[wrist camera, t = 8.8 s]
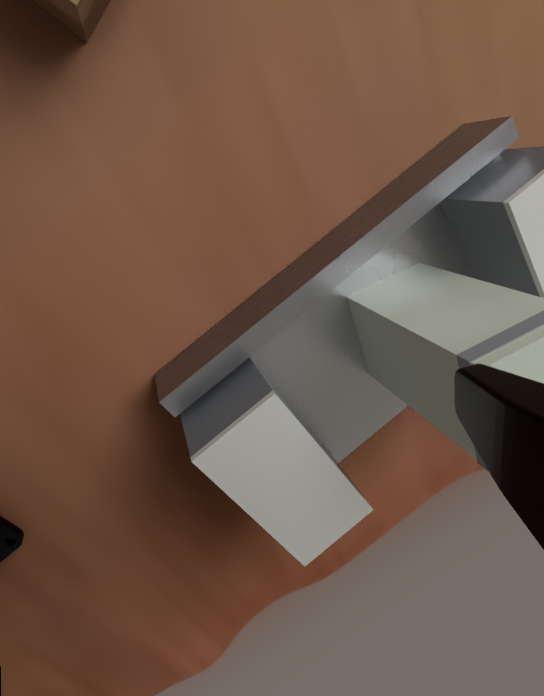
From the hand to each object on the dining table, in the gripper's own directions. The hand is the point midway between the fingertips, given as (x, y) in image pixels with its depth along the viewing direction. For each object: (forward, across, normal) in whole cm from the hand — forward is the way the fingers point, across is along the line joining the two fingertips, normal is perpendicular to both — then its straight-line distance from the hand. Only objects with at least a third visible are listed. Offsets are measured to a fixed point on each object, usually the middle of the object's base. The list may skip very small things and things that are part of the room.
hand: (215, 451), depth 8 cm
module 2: (+14, -14, +4) cm, 21 cm away
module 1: (+11, 0, +9) cm, 15 cm away
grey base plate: (+14, -7, +7) cm, 17 cm away
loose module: (+13, -8, +6) cm, 16 cm away
